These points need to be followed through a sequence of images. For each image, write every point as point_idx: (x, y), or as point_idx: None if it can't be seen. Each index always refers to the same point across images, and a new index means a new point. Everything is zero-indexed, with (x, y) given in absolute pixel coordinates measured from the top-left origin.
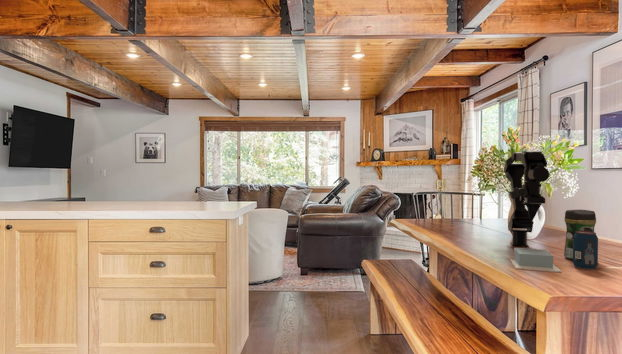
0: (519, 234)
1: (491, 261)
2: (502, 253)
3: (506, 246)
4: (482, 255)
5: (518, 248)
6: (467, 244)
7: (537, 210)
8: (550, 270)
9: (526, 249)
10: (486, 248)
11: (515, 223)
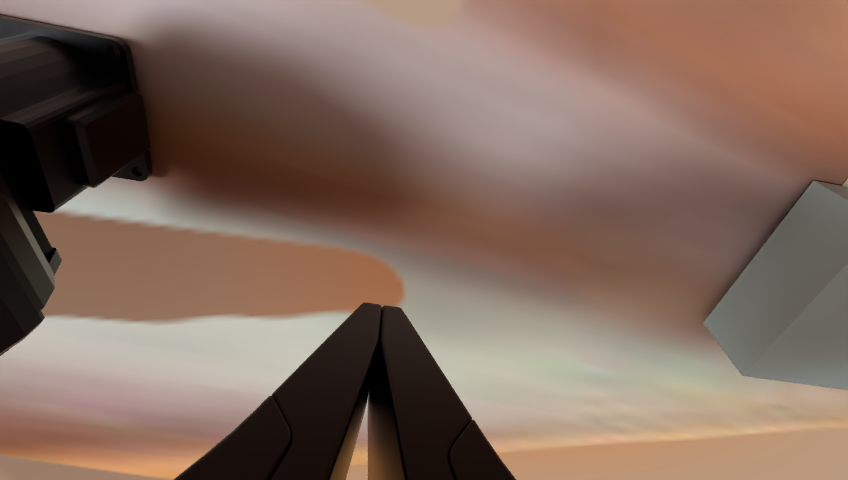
0: (65, 173)
1: (721, 406)
2: (510, 320)
3: (201, 225)
4: (577, 407)
5: (777, 363)
6: (245, 405)
7: (498, 471)
8: None
9: (827, 334)
10: None
11: (42, 313)
